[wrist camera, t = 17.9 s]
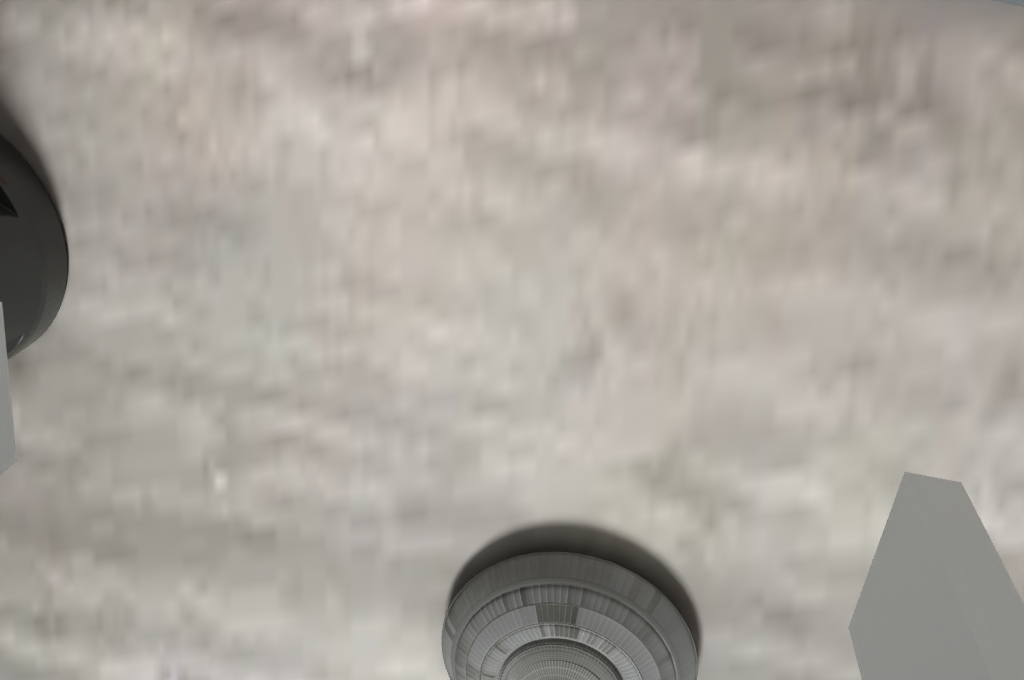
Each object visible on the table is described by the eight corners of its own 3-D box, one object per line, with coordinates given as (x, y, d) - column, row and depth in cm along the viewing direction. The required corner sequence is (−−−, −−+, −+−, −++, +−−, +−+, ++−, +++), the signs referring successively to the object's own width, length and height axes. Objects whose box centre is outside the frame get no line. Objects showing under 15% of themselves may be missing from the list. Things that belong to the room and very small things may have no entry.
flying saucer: (491, 499, 55) (471, 557, 50) (740, 596, 55) (744, 664, 50) (417, 683, 62) (393, 750, 57) (640, 770, 62) (635, 845, 57)
